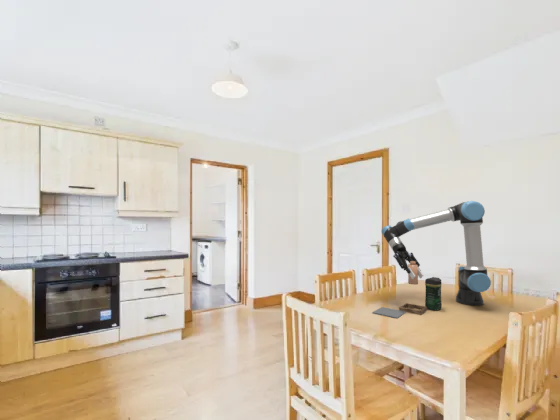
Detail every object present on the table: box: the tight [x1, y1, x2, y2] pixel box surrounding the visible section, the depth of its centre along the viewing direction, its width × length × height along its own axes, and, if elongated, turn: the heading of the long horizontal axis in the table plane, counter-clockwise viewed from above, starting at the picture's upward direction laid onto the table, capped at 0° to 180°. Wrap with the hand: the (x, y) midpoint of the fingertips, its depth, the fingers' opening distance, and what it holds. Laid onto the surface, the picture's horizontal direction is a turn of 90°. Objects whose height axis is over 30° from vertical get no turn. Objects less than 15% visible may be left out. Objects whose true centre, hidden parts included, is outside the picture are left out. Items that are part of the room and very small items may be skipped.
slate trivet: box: [372, 306, 407, 319], centre depth 173 cm, size 14×14×1 cm
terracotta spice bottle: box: [407, 261, 419, 285], centre depth 178 cm, size 5×5×13 cm
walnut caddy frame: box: [398, 302, 428, 316], centre depth 178 cm, size 12×12×2 cm
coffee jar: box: [424, 276, 443, 311], centre depth 182 cm, size 10×8×19 cm
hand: (417, 277), depth 175 cm, fingers closed on terracotta spice bottle, 5 cm apart
